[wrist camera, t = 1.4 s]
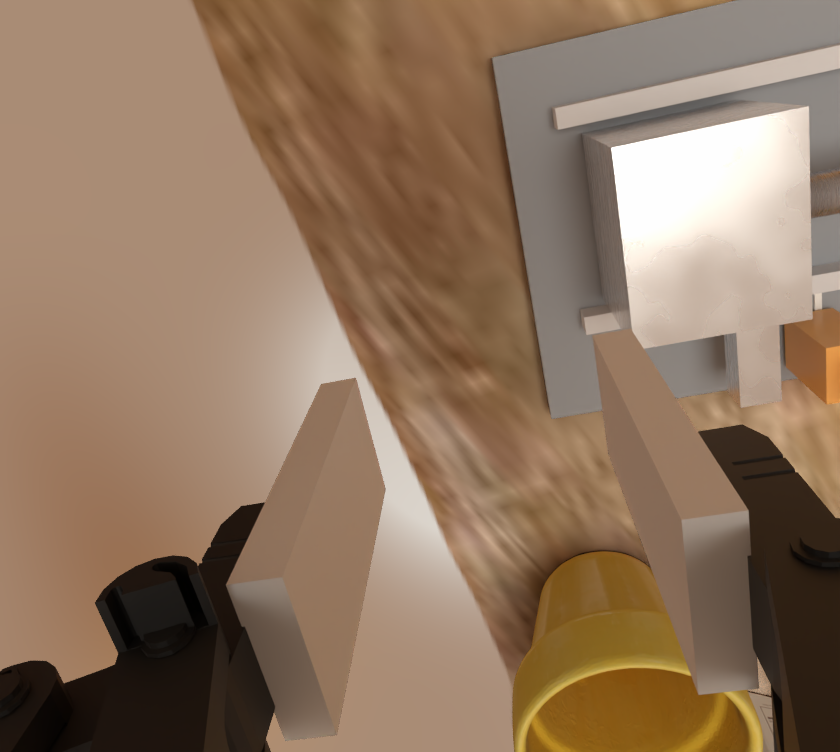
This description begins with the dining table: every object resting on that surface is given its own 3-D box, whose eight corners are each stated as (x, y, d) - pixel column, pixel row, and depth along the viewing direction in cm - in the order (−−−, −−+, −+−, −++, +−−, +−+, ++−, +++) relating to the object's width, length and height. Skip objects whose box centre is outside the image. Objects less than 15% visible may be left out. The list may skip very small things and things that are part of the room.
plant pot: (536, 691, 42) (554, 858, 33) (478, 550, 39) (482, 693, 30) (715, 650, 40) (787, 814, 31) (672, 497, 37) (738, 634, 28)
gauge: (581, 133, 29) (611, 147, 23) (957, 51, 27) (1095, 44, 21) (614, 391, 33) (647, 460, 27) (942, 336, 31) (1054, 397, 25)
